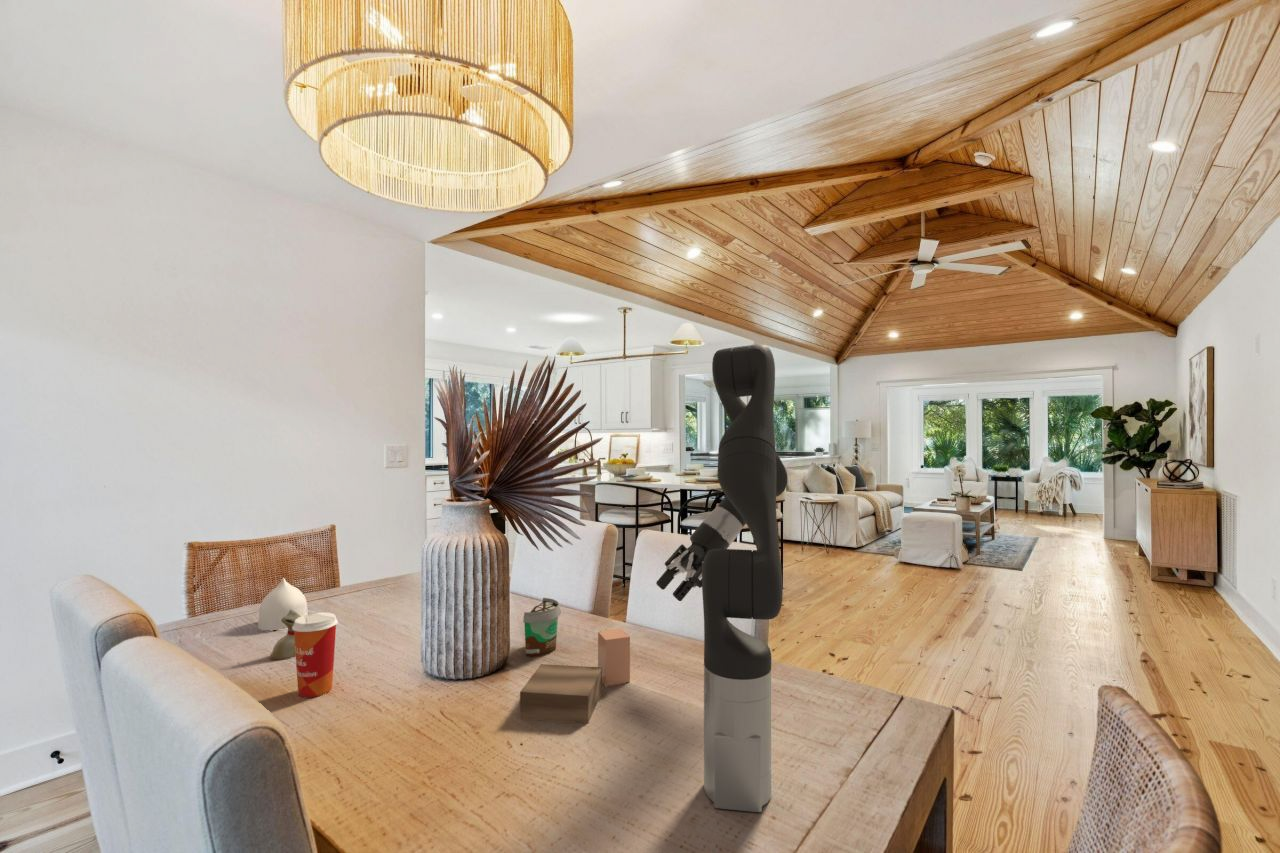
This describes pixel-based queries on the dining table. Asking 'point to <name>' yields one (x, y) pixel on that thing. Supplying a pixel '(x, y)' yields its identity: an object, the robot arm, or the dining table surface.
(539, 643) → the food container
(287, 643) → the tied pouch
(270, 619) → the teardrop
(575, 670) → the walnut block
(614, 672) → the peach tall block
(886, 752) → the dining table surface
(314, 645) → the paper cup
